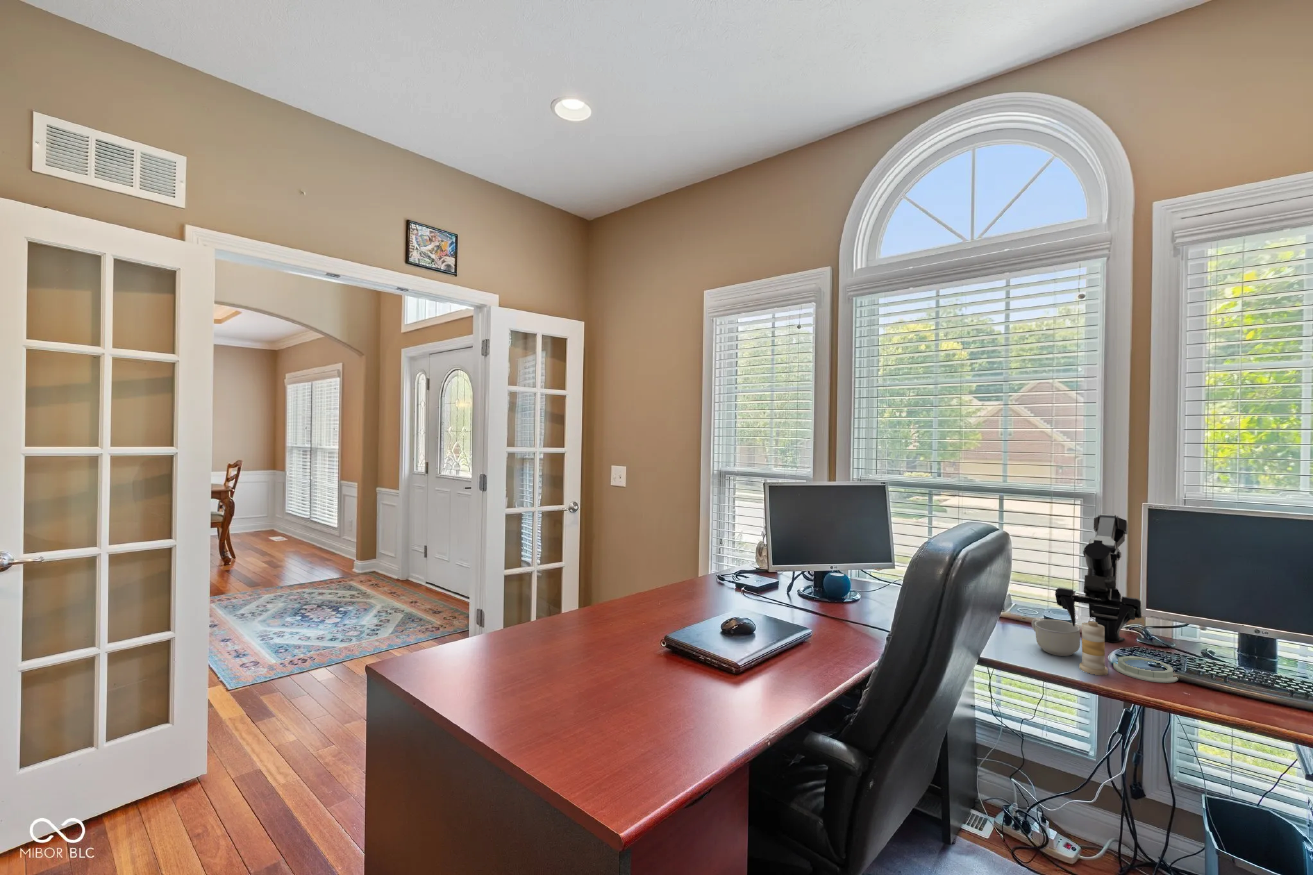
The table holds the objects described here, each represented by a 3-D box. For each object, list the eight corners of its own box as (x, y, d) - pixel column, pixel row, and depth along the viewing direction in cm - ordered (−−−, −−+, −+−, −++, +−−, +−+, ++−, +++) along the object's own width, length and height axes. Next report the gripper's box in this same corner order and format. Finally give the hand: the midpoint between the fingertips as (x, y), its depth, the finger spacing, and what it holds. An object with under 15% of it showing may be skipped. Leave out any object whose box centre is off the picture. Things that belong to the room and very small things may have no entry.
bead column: (1088, 665, 159) (1088, 617, 159) (1113, 673, 153) (1112, 624, 153) (1074, 668, 156) (1073, 620, 156) (1098, 676, 151) (1098, 627, 151)
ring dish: (1132, 660, 162) (1132, 652, 162) (1189, 677, 150) (1189, 669, 150) (1102, 667, 157) (1102, 659, 157) (1159, 686, 145) (1159, 677, 145)
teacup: (1089, 659, 163) (1089, 630, 163) (1050, 659, 163) (1050, 630, 163) (1056, 642, 177) (1056, 615, 177) (1020, 642, 177) (1019, 615, 177)
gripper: (1056, 558, 167) (1049, 605, 159) (1140, 568, 155) (1137, 619, 146) (1060, 581, 173) (1054, 627, 165) (1142, 592, 160) (1140, 643, 152)
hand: (1094, 629), depth 157 cm, fingers open, 9 cm apart
